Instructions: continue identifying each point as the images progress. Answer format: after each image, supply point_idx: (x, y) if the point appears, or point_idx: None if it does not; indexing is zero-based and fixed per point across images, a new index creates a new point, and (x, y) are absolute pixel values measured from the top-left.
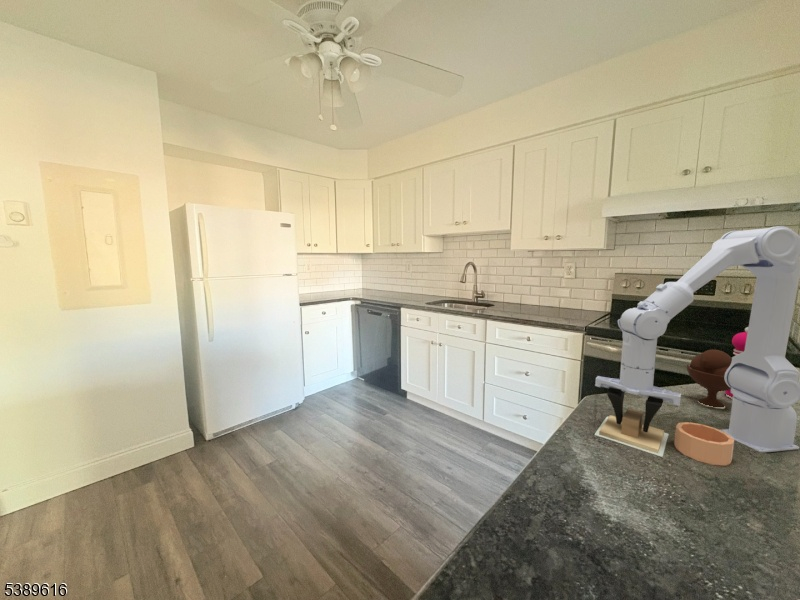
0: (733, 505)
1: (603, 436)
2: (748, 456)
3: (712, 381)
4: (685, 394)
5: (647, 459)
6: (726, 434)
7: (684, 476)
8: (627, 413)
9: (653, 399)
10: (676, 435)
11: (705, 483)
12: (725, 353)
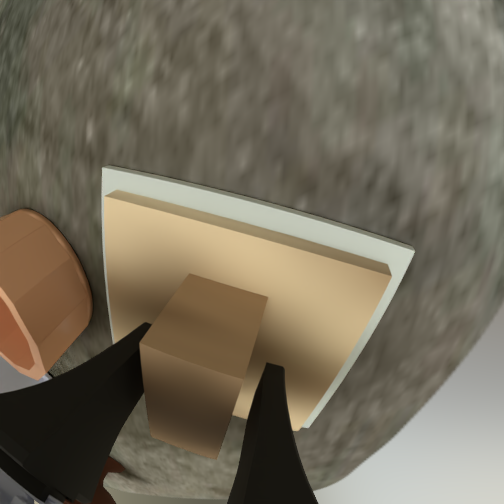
0: (7, 21)
1: (367, 249)
2: None
3: None
4: (144, 483)
5: (159, 115)
6: None
7: (60, 73)
8: (215, 425)
9: (21, 473)
10: (53, 312)
11: (26, 79)
12: None
